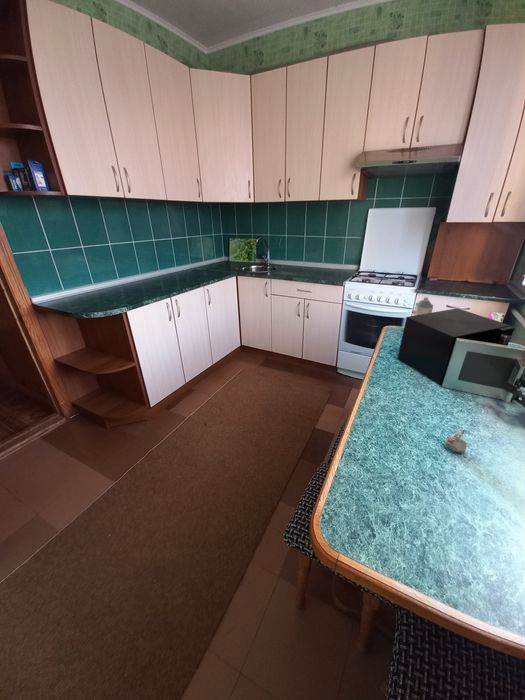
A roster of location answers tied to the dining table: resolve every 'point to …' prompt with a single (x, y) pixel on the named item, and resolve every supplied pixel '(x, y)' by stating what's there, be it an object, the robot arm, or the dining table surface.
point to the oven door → (485, 368)
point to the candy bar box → (496, 316)
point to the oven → (445, 338)
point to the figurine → (456, 443)
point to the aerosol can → (423, 307)
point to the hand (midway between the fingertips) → (510, 382)
